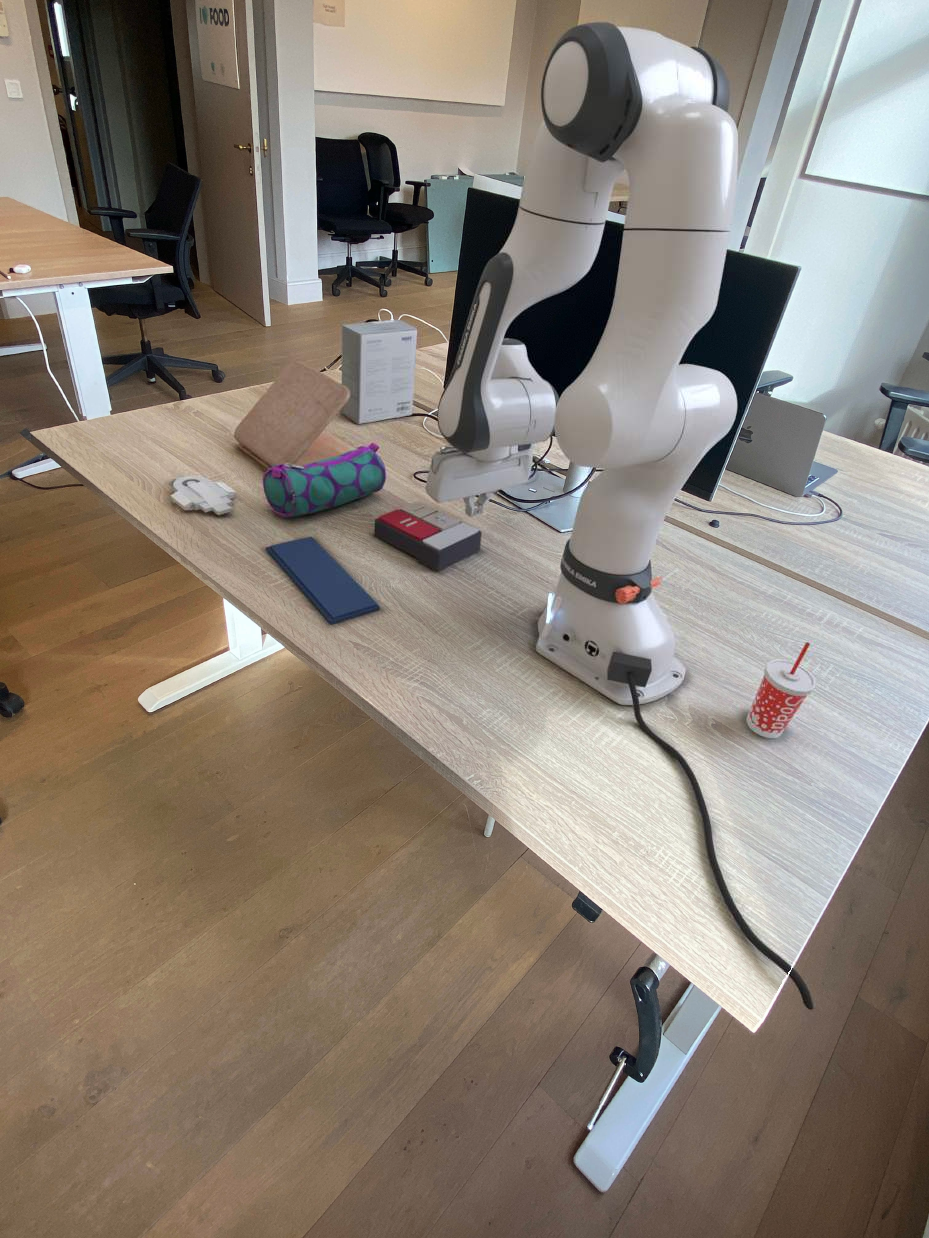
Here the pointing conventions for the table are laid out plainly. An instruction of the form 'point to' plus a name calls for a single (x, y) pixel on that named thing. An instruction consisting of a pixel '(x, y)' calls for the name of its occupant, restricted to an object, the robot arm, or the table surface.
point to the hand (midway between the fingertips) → (474, 513)
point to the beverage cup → (780, 695)
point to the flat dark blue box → (322, 580)
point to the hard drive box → (378, 369)
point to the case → (295, 419)
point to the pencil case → (324, 482)
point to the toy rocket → (202, 494)
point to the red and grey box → (428, 535)
